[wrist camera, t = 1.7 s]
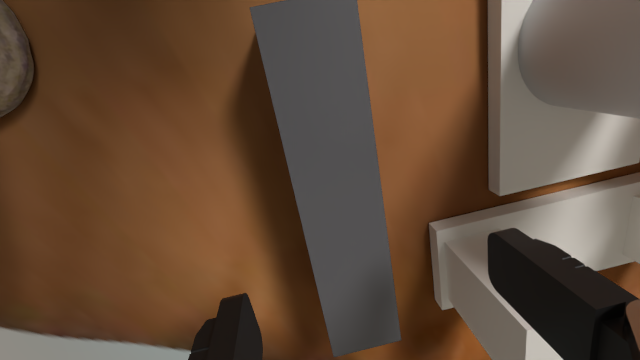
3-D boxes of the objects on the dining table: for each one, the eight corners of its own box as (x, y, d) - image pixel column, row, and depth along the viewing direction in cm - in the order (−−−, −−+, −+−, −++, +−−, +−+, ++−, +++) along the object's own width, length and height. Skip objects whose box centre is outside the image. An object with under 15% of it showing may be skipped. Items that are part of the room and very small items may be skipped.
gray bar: (258, 25, 17) (249, 7, 12) (330, 11, 17) (355, -14, 12) (320, 288, 24) (333, 357, 18) (372, 275, 24) (401, 340, 18)
